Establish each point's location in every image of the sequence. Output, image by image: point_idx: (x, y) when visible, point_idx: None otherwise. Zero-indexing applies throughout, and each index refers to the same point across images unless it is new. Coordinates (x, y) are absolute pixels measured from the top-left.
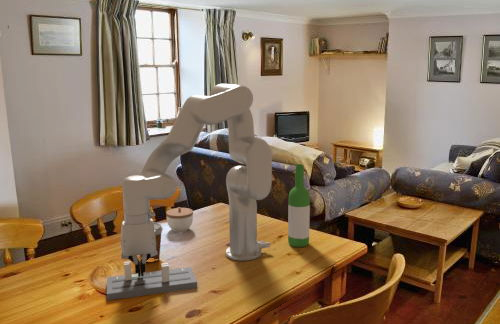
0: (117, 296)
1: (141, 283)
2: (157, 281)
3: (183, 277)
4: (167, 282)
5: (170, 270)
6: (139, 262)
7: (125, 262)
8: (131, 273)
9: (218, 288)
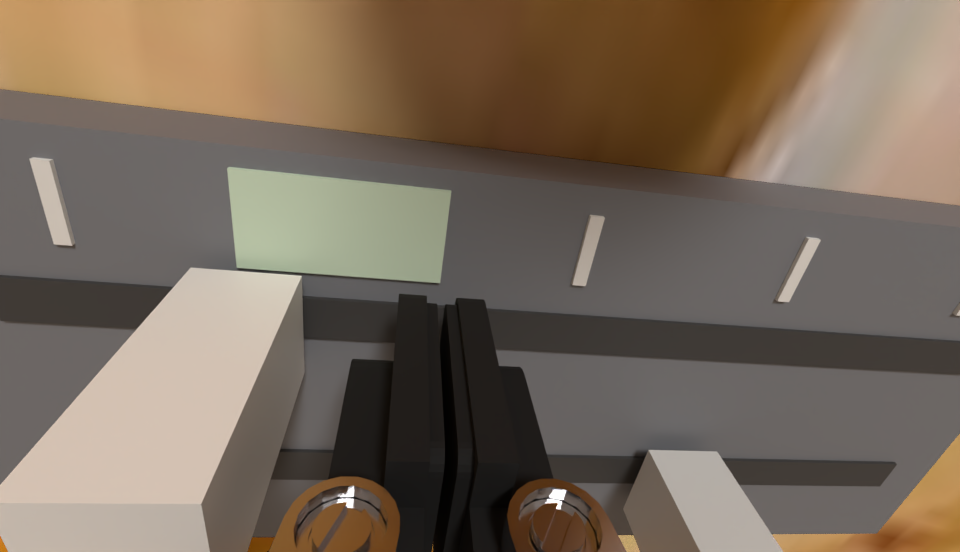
0: None
1: None
2: (588, 460)
3: (846, 448)
4: None
5: (856, 251)
6: (432, 520)
7: (51, 538)
8: (279, 446)
9: (934, 518)
